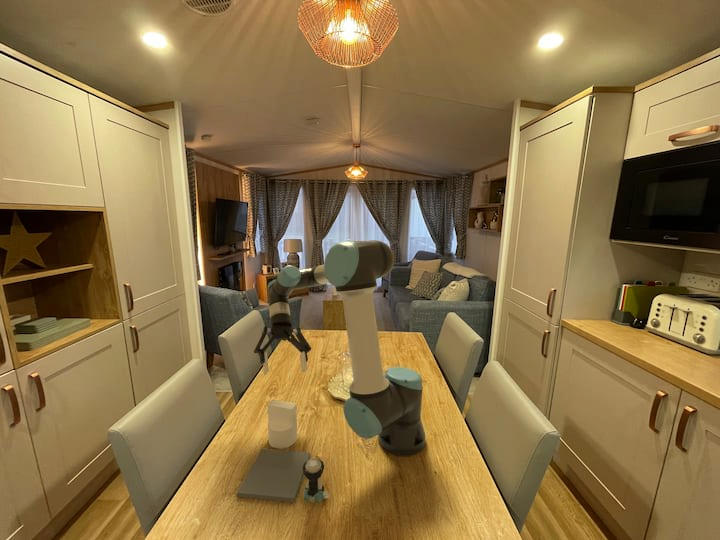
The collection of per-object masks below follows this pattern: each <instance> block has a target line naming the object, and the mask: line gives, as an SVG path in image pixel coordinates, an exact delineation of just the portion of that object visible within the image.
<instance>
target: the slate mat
mask: <svg viewBox="0 0 720 540" xmlns="http://www.w3.org/2000/svg"><path fill="white" fill-rule="evenodd" d="M310 457H311V453H310V452H306V451H296V450H295V451H293V450H284V449H283V450H282V449H273V448H272V449H270V448H261V449H260V450H259V452H258V454H257V456H256V457H255V459H254V460H253V463H252V464H251V466H250V468H249V470H248V472H247V473H246V475H245V477H244V479H243V481H242V483H241V484H240V487H239V489H238V490H237V492H236V496H237V497H238V498H249V499H257V500H268V501H278V502H285V503H286V502H287V503H295V502H296V500H297V497H298V493H299V490H300V487H301V484H302V483H303V478H304V477H305V476H304V473H303V465H304V463H305V462H306V461H308V460H309V459H311V458H310Z"/></svg>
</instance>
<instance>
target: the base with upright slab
mask: <svg viewBox="0 0 720 540" xmlns="http://www.w3.org/2000/svg"><path fill="white" fill-rule="evenodd" d="M297 417H298V416H297V403H295V402H289V401H281V400H276V399H271V400H270V401H269V402H268V403H267V430H268V431H267V432H268V433H267V434H268V443H269V445H270V446H271V448H275V449H278V450H282V449H286V448H288V447H290V446H293V444H295V443H296V441H297V440H298V418H297Z"/></svg>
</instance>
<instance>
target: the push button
mask: <svg viewBox="0 0 720 540" xmlns="http://www.w3.org/2000/svg"><path fill="white" fill-rule="evenodd" d="M324 470H325V463H324V461H323V460H321V459H319V458H317V457H311V458H309V460H308V461H306V462H305V463H304V465H303V473H304V476H303V477H305V478H306V485H305V487H304V490H303V500H306V501H310V503H316V502H323V500H324V499H330V497H331V496H330V493H331V492H329V491H325V486H324V485H322V476H323V474H324Z"/></svg>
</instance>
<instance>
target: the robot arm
mask: <svg viewBox="0 0 720 540" xmlns="http://www.w3.org/2000/svg"><path fill="white" fill-rule="evenodd" d="M394 264H395V255H394V252H393V250H392V249H391V247H390V246H389V245H388V244H387V243H385V242H384V241H380V240H376V239H374V240H373V239H372V240H355V241H354V240H351V241H345V242H343V241H342V242H339V243H335V244H333V245H332V246H331V247H330V248H329V250H328V252H327V253H326V255H325V258H324V264H320V265H317V266H314V267H308V268H301V269H299V268H298V267H297V266H295V265H294V266H293V265H286V266H284V267H283V268H282V269H281V270H280V272H279V273H278V274H277V278H276V279H273V280H271V281H270V282H269V283H268V285H267V291H266V292H267V299H268V307H269V308H268V310H269V322H270V327H268V326H267V325H266V326H264V327H263V328H262V330H261V336H260V337H259V340H258V342H257V344H256V346H255V348H254V350H253V353H254V354H257V355H258V356H259V362H260V364H262V367H263V369H262V370H263V375H267V373H269V361H268V359H269V358H268V352H267V350H268V348H270V346H271V345H272V344H273V343H274V341H275V340H277V341H278V342H279V341H284V342H285V341H286V342H287V341H288V343H290V344H292V346H293V347H294V348H295V349H297V350H298V351H299V353H300V354H299V358H300V365H301V373H305V372H306V371H307V370H308V366H307V362H308V361H309V357H308V356H309V355H308V354H309V353H310V351H311V350H312V347H311V345H310V344H309V342H308V341H307V339H306V338H305V336H304V335H303V333H302V331H301V328H300V327H299V326H298V327H297V328H293V327H292V317H291V310H290V304H289V303H290V301H289V296H290V295H291V294H292V292H293V291H294V290H301V289H306V288H312V287H313V288H314V287H319V286H324V285H326V284H327V285H328V284H331V286H334V287H335V291H336V294H338V295H339V296H340V297H341V298H342V302H343V303H342V305H343V312H344V319H345V326H346V333H347V342H348V349H349V357H350V365H351V372H352V378H353V379H352V380H351V382H350V383H349V386H348V390H349V397H348V398H346V400H345V401H344V403H343V406H342V410H343V412H342V413H343V416H344V418H345V420H346V423H347V424H348V426H349V428H350V429H351V430H352V431H353V432H354V434H356V435H357V436H358V437H360V438H362V439H365V440H371V439H373V438H374V437H376V436H377V439H378V443H379V445H381V447H382V448H383V449H384V450H385V451H387V452H389V453H391V454H394V455H397V456H403V457H405V456H406V457H408V456H412V455H413V456H414V455H416V454H418V453H419V452H421V451H422V450H423V449H424V447H425V444H426V432H425V429H424V425H423V421H422V419H421V417H422V416H421V415H422V399H423V388H424V386H423V378H422V376H421V375H420V373H418V372H417V371H416V370H414V369H412V368H407V367H403V366H393V367H389V368H387V369H386V370H385V372H384V371H383V364H382V356H381V348H380V347H381V346H380V341H379V332H378V325H377V317H376V310H375V302H374V291H375V290H376V289H377V287H378V283H377V279H381V278H383V277H385V276H387V275H388V274H389V273H390V272H391V271H392V269H393V267H394ZM269 333H270V334H271V335H272V337H271V338H269V340H268V341H267V342H266V343H265V345H264V346H263V347H262V345H263V343H264V341H265V339H266V336H267V335H268V334H269ZM261 347H262V348H261Z"/></svg>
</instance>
